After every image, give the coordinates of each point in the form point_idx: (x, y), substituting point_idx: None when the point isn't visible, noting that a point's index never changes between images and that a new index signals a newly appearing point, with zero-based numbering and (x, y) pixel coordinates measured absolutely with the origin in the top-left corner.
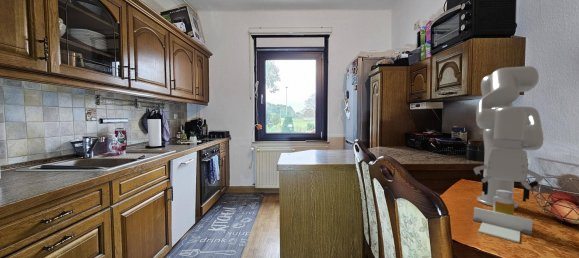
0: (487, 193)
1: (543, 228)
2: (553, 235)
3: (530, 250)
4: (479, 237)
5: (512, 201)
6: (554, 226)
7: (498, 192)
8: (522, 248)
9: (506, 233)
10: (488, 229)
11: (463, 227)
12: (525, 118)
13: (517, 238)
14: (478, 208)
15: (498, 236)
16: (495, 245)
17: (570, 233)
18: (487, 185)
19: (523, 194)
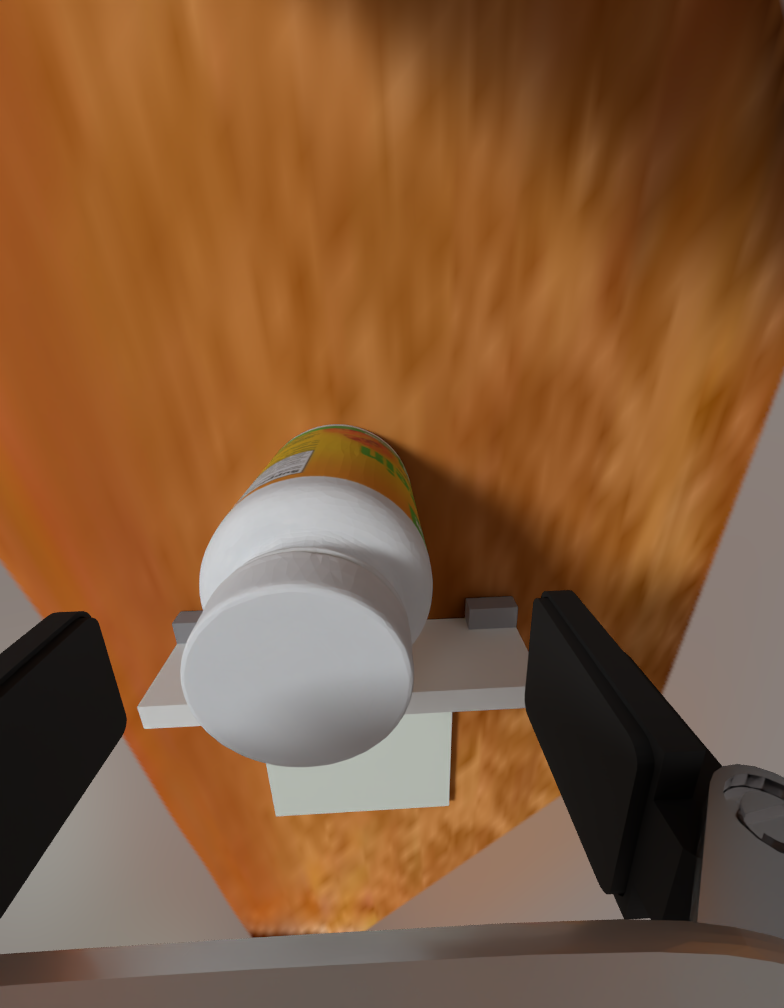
0: (103, 658)
1: (596, 449)
2: (624, 559)
3: (484, 833)
4: (300, 854)
5: (414, 640)
6: (695, 303)
7: (236, 733)
8: (457, 836)
9: (392, 756)
10: (309, 768)
11: (203, 802)
12: None
13: (441, 779)
14: (174, 718)
15: (365, 808)
16: (367, 877)
17: (753, 414)
18: (14, 881)
19: (565, 793)
